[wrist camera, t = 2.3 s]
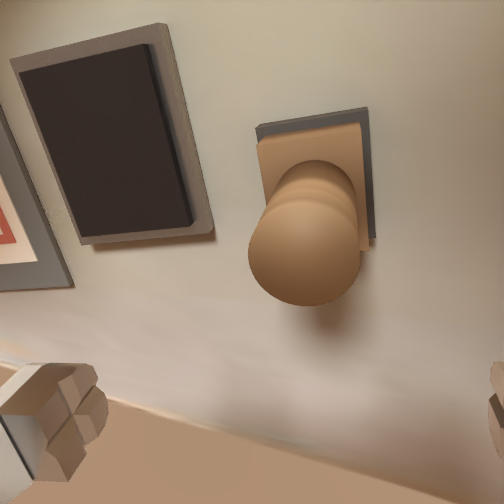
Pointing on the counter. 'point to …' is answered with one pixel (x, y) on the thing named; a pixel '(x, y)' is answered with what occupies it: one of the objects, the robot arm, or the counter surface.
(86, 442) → the robot arm
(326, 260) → the stamp
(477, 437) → the counter surface
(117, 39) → the ink pad
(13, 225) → the mat
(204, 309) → the counter surface
